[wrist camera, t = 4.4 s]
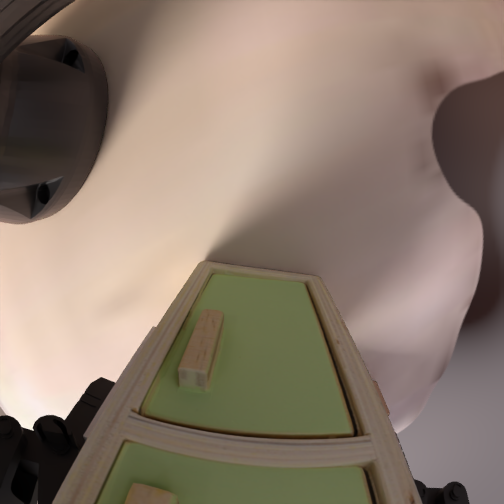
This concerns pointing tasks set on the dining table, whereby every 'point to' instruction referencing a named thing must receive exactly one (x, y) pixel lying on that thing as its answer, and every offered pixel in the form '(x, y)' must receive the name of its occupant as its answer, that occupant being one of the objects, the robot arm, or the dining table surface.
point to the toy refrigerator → (244, 405)
